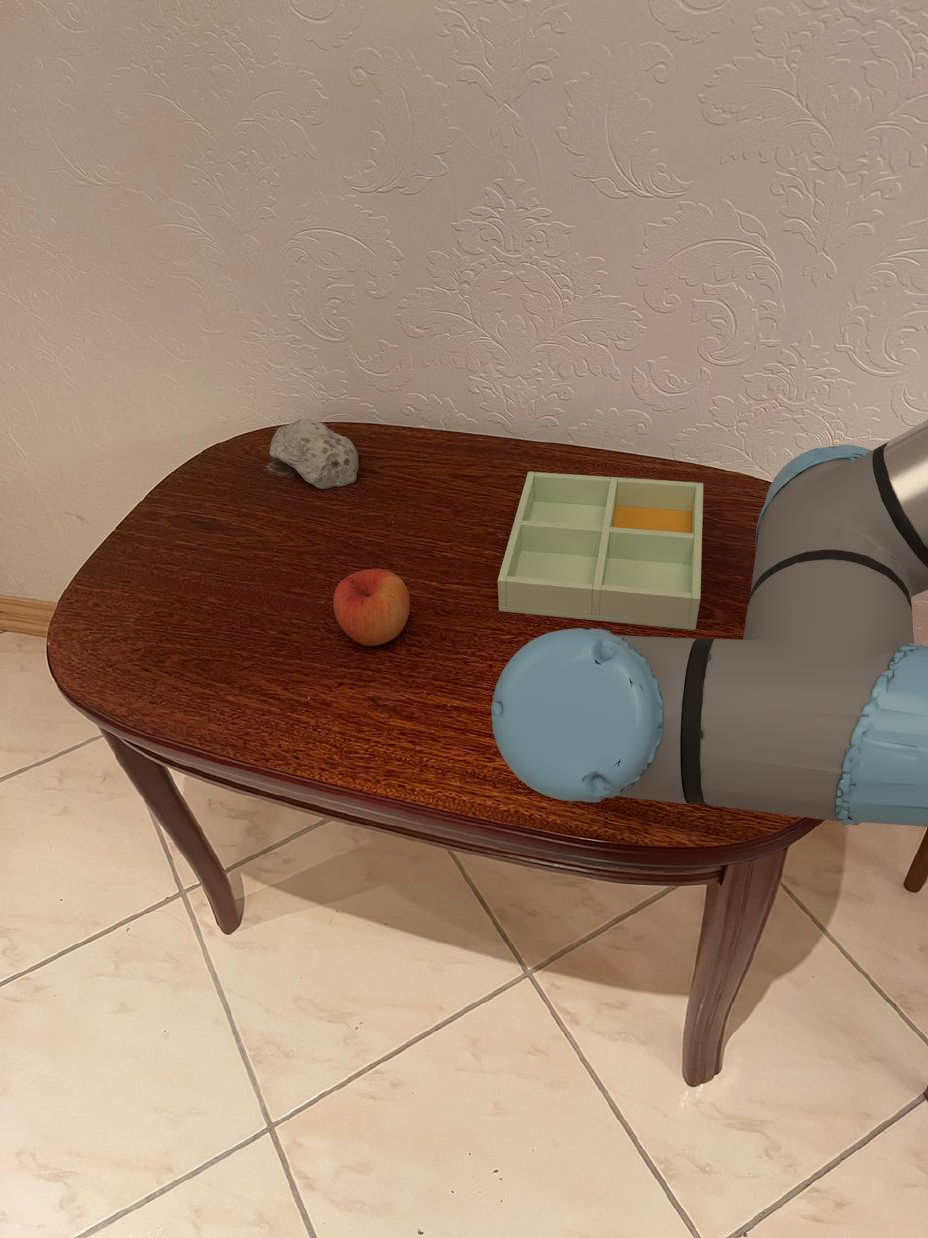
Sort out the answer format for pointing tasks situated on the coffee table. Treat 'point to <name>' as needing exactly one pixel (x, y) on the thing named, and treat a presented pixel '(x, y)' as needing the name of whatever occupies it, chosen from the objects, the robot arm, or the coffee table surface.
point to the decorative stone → (316, 453)
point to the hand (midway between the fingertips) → (691, 708)
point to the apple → (372, 606)
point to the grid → (605, 550)
